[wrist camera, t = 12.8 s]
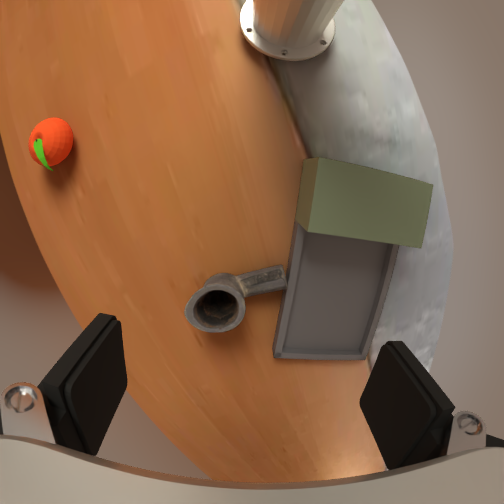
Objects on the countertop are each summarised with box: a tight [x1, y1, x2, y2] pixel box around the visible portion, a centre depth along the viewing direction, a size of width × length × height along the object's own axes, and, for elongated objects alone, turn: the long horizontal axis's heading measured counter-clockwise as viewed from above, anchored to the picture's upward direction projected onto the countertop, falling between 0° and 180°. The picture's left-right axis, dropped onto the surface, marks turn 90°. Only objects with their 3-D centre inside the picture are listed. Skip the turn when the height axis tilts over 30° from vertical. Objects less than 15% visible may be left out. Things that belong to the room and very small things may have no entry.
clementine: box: [29, 118, 73, 171], centre depth 31 cm, size 8×7×7 cm
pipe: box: [184, 265, 288, 333], centre depth 37 cm, size 6×13×8 cm, turn 106°
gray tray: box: [272, 157, 433, 360], centre depth 37 cm, size 28×15×8 cm, turn 173°
